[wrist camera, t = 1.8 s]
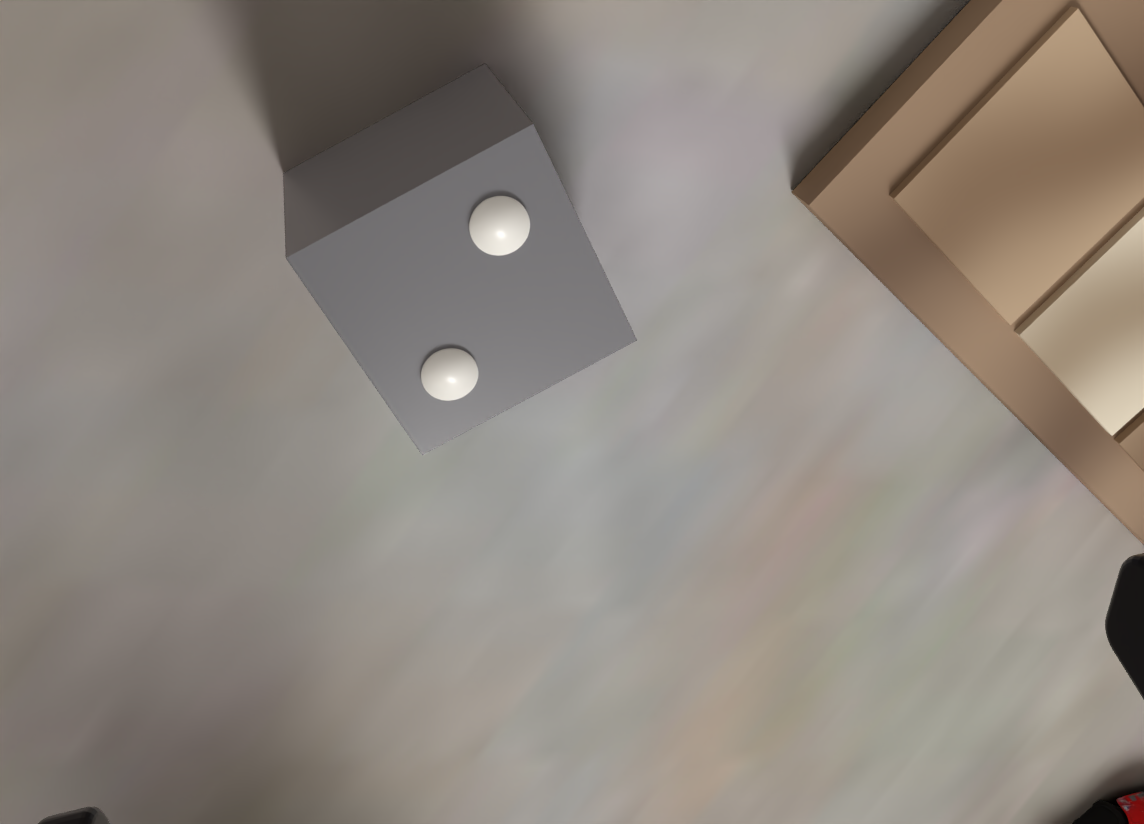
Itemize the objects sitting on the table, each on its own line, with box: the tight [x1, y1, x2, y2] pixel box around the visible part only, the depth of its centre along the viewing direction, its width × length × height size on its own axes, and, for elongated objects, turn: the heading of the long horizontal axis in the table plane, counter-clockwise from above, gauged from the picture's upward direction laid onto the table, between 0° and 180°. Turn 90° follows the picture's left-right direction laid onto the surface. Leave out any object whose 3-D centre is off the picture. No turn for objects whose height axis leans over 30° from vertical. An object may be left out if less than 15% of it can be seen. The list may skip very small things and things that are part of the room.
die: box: [283, 64, 637, 455], centre depth 17 cm, size 4×4×4 cm
